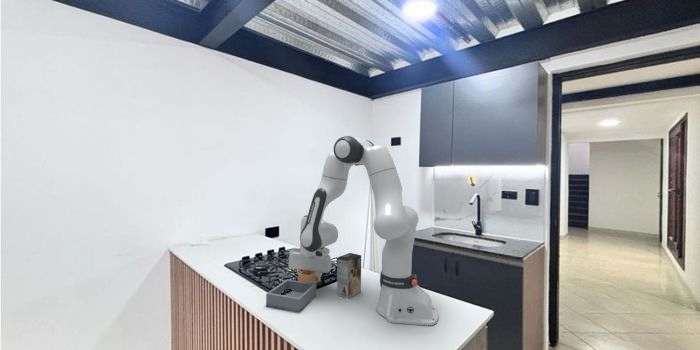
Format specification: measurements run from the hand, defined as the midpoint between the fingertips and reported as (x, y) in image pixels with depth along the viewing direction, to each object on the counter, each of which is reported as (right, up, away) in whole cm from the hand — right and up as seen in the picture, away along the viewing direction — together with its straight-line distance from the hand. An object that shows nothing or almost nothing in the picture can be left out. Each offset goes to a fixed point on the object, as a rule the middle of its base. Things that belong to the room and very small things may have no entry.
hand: (309, 279), depth 129 cm
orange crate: (0, -2, 0) cm, 2 cm away
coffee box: (+18, -3, -9) cm, 20 cm away
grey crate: (-4, -2, -17) cm, 18 cm away
